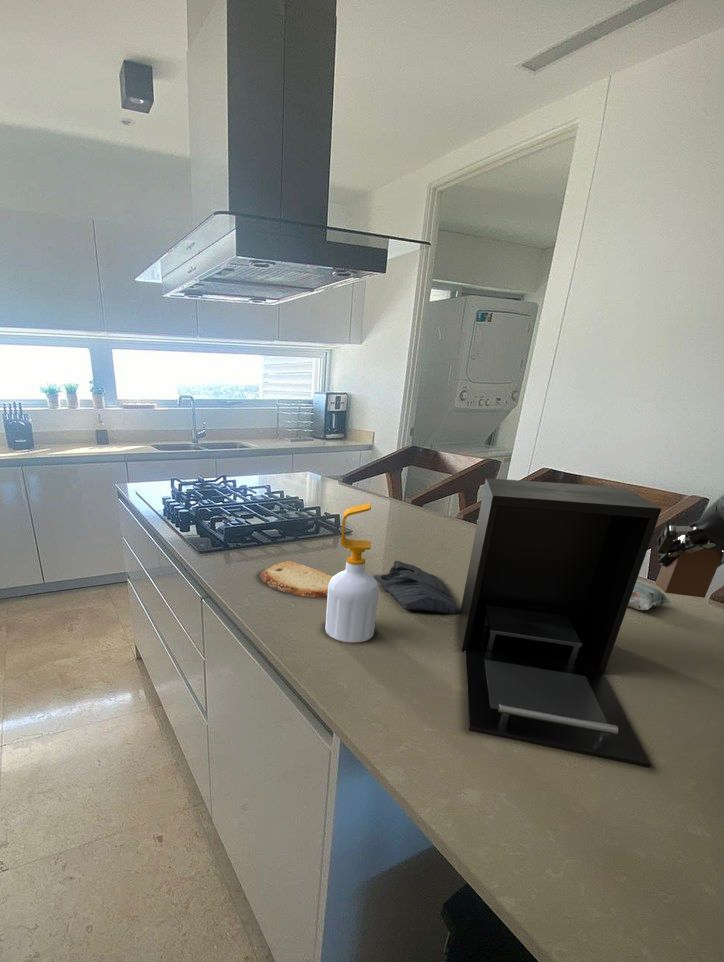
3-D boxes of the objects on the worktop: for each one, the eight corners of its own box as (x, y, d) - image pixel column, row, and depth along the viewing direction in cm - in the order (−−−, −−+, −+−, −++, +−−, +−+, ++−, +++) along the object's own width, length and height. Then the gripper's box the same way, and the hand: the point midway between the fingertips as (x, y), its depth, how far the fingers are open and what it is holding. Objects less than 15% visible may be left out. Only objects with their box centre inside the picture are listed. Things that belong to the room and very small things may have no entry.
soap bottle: (373, 647, 87) (389, 512, 77) (323, 642, 89) (332, 509, 79) (373, 625, 95) (387, 500, 85) (327, 620, 97) (335, 497, 87)
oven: (580, 634, 93) (625, 487, 82) (652, 772, 60) (746, 558, 48) (459, 616, 99) (486, 478, 88) (464, 733, 66) (508, 534, 55)
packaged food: (645, 619, 100) (653, 597, 98) (588, 598, 109) (594, 577, 107) (667, 611, 103) (675, 590, 101) (610, 592, 113) (617, 572, 111)
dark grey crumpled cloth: (392, 616, 99) (395, 595, 97) (372, 577, 119) (374, 558, 117) (467, 617, 99) (472, 596, 97) (435, 578, 119) (438, 559, 117)
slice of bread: (349, 598, 107) (350, 582, 105) (268, 602, 104) (268, 586, 103) (328, 569, 123) (329, 555, 121) (258, 572, 120) (258, 558, 119)
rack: (562, 635, 90) (568, 616, 89) (575, 665, 81) (582, 644, 79) (482, 623, 94) (486, 605, 93) (485, 650, 85) (490, 630, 83)
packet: (692, 587, 83) (711, 542, 79) (704, 597, 79) (724, 550, 76) (655, 583, 84) (671, 539, 81) (665, 592, 80) (683, 546, 77)
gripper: (815, 490, 65) (733, 549, 81) (689, 481, 69) (634, 539, 85) (822, 538, 63) (737, 590, 78) (691, 526, 67) (634, 577, 82)
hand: (683, 563), depth 81 cm, fingers closed on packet, 5 cm apart
